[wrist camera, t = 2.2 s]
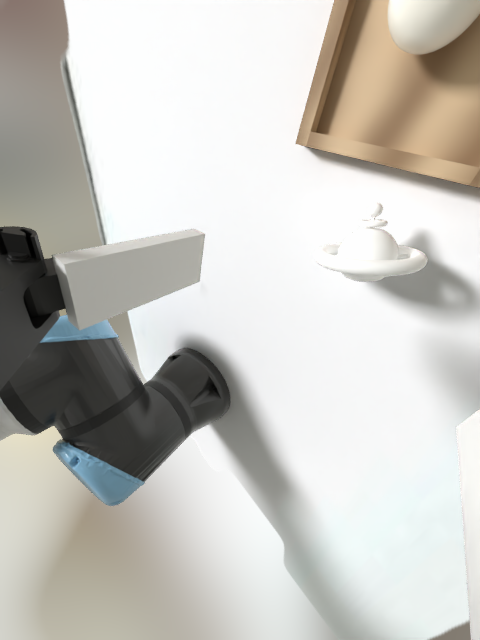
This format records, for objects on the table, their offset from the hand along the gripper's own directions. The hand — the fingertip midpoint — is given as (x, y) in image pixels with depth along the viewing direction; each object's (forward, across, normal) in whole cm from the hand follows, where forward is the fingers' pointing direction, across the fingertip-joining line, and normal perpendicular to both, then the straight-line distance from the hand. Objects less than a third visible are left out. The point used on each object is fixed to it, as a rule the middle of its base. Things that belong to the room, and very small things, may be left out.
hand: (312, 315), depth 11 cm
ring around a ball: (+16, 0, +1) cm, 17 cm away
